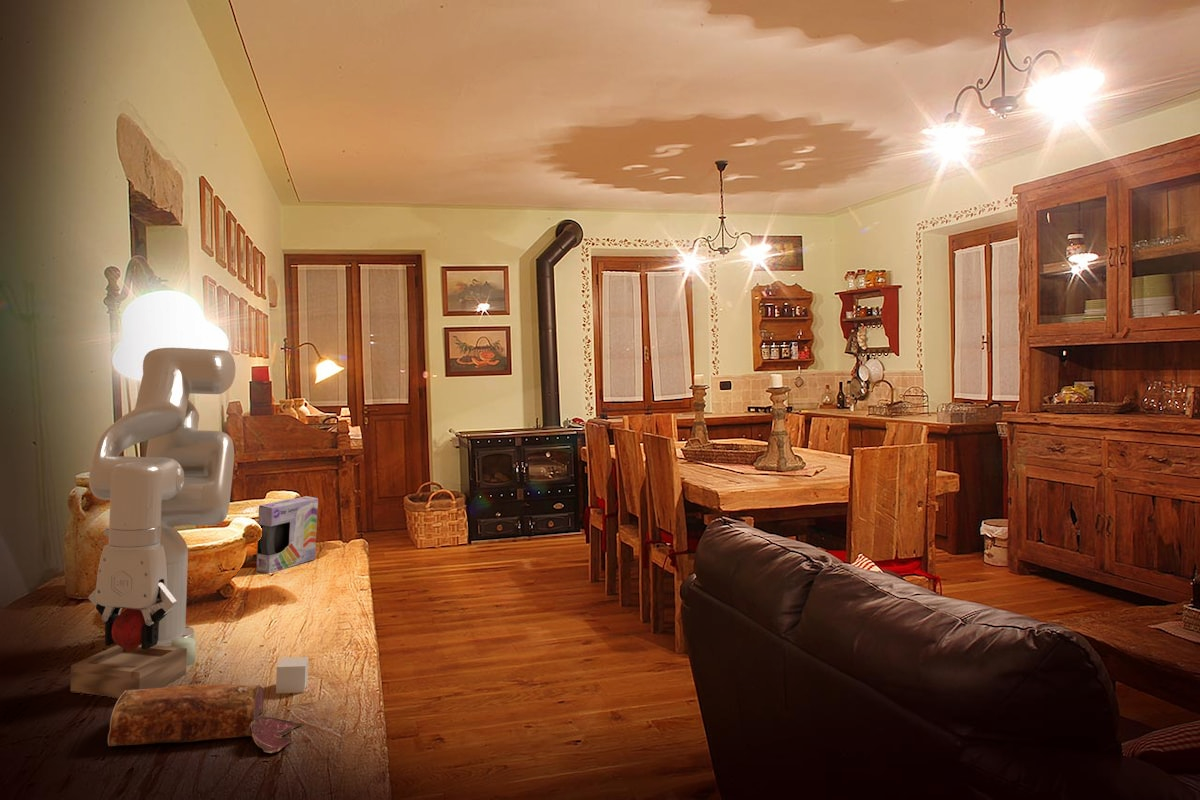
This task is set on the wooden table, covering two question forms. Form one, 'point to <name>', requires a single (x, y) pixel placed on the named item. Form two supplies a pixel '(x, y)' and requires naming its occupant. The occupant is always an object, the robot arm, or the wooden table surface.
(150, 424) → the robot arm
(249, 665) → the wooden table surface
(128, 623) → the red fruit
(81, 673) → the shallow wooden tray
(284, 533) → the cake pan box
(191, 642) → the sage painted capsule
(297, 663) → the grey ceramic cube
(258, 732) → the cured meat
